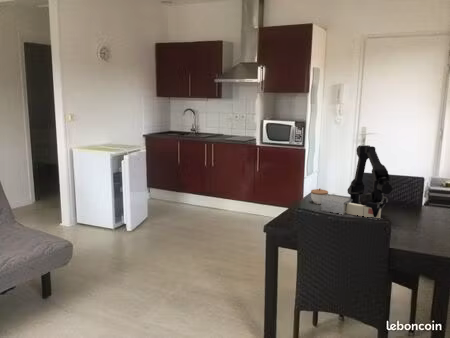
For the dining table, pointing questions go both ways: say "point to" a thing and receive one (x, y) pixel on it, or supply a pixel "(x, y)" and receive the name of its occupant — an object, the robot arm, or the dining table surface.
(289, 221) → the dining table surface
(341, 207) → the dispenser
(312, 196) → the lidded jar
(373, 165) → the robot arm
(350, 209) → the beige rectangular box
